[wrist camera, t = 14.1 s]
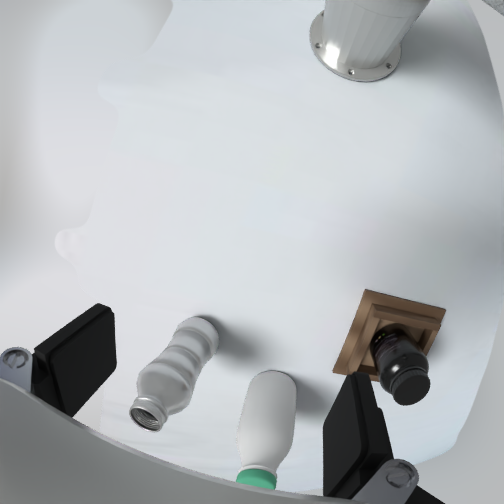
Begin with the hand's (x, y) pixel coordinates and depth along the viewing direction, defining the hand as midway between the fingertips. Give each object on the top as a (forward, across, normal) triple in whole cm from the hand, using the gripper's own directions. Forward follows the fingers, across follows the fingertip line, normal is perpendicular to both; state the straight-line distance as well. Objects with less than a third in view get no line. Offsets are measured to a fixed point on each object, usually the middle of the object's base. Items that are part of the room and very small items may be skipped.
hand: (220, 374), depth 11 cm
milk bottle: (+30, -5, +25) cm, 39 cm away
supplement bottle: (+29, -20, +12) cm, 37 cm away
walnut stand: (+30, -20, +12) cm, 38 cm away
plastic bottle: (+30, +8, +18) cm, 35 cm away
